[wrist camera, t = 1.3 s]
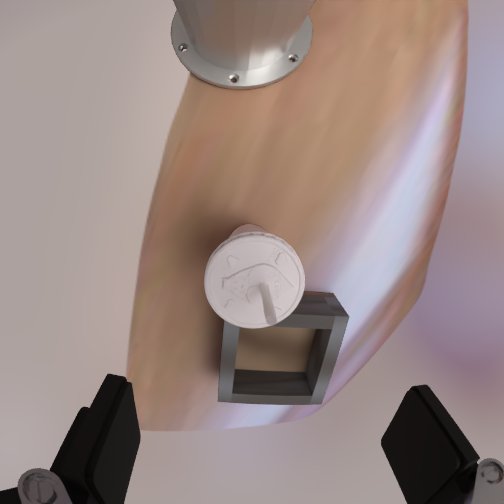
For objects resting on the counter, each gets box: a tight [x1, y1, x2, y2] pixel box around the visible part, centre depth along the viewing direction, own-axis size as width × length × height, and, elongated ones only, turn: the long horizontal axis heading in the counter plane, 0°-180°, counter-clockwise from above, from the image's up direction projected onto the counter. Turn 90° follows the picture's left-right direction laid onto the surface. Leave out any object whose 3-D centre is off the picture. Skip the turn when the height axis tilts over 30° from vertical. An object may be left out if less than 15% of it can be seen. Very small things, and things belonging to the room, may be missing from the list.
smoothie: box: [204, 224, 305, 328], centre depth 21 cm, size 6×6×14 cm
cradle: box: [218, 291, 349, 405], centre depth 29 cm, size 11×11×5 cm
